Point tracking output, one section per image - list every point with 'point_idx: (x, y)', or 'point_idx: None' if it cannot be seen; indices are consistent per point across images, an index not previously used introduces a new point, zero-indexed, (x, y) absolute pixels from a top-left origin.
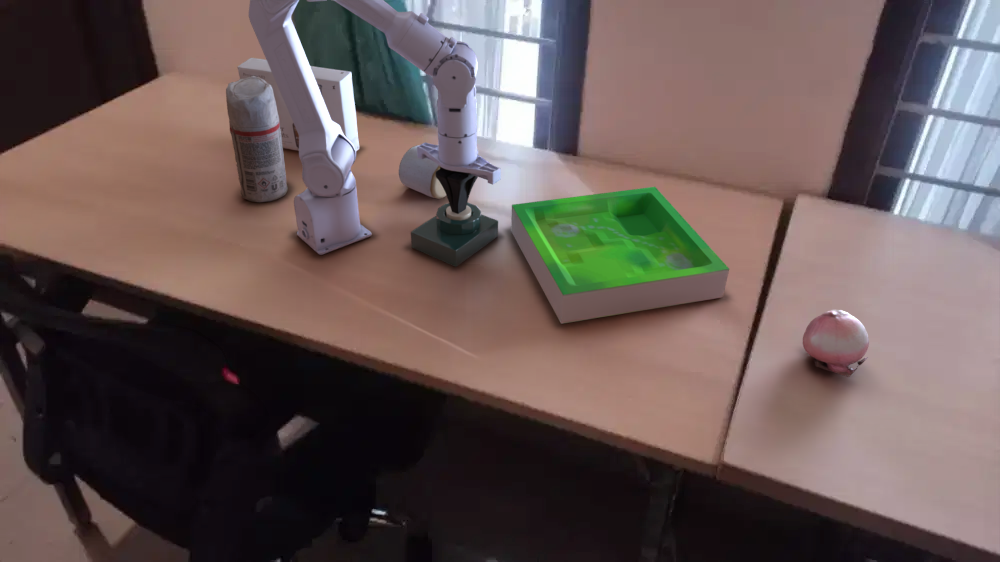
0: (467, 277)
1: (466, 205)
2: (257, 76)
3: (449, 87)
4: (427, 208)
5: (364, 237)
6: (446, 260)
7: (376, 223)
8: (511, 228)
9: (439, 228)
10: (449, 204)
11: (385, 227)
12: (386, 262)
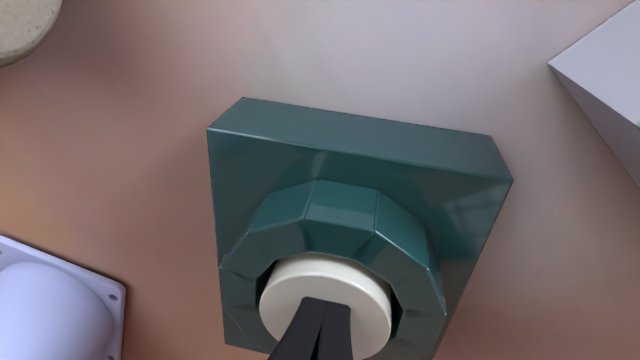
0: (470, 356)
1: (349, 322)
2: None
3: None
4: (96, 72)
5: (123, 303)
6: None
7: (76, 229)
8: (558, 72)
9: None
10: (239, 265)
11: (111, 236)
12: (243, 350)
